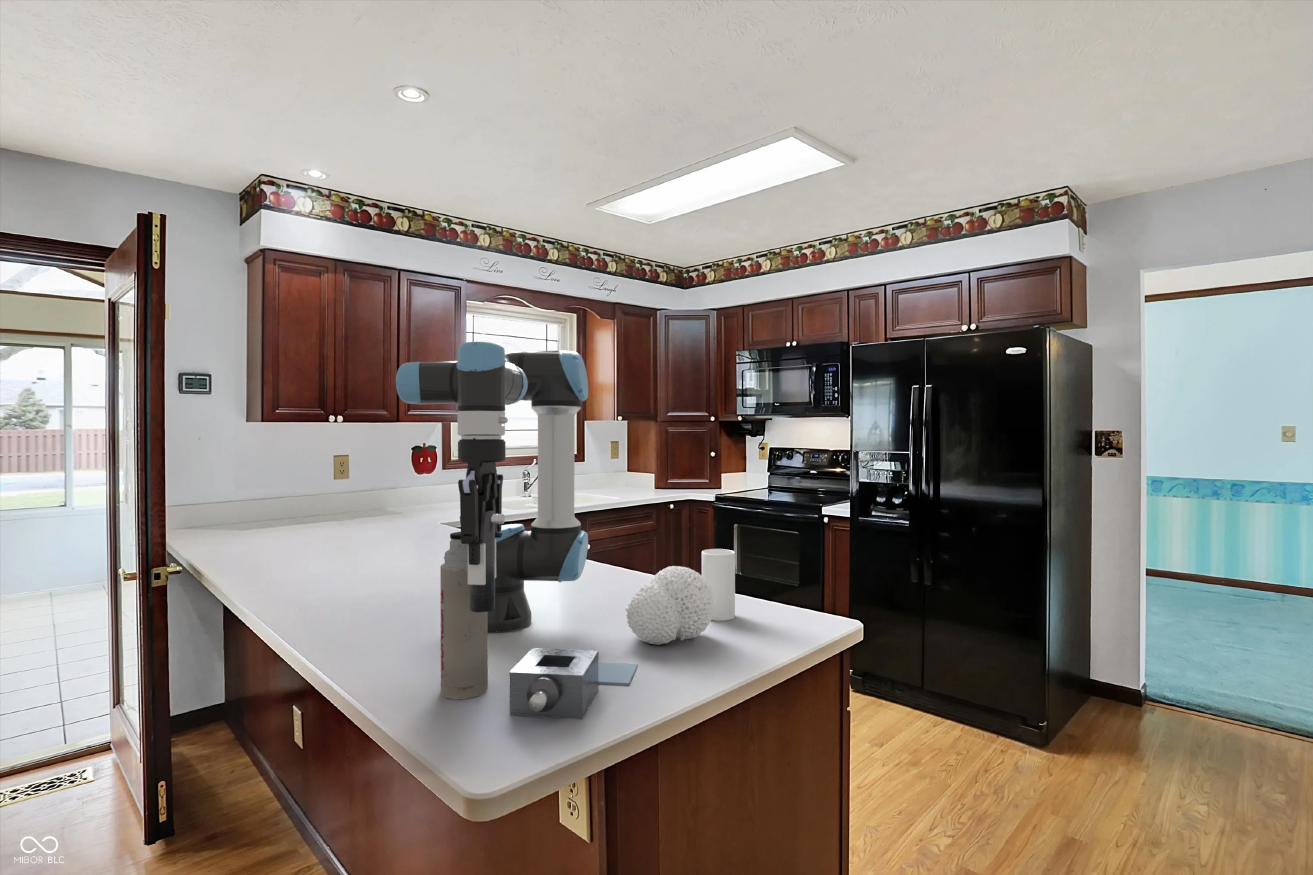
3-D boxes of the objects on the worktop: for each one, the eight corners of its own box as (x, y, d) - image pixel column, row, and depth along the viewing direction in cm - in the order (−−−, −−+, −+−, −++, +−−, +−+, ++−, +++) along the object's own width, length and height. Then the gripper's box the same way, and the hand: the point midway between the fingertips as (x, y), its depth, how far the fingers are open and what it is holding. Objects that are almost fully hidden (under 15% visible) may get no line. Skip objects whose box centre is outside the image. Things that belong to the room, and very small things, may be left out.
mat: (574, 682, 122) (574, 680, 122) (587, 663, 132) (587, 661, 132) (629, 685, 120) (629, 682, 120) (637, 665, 130) (637, 663, 130)
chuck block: (498, 728, 103) (498, 683, 103) (532, 686, 119) (532, 647, 119) (574, 733, 101) (574, 687, 101) (598, 690, 118) (598, 650, 118)
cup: (733, 621, 161) (733, 555, 161) (699, 619, 162) (699, 554, 162) (736, 612, 169) (736, 549, 169) (703, 610, 170) (703, 548, 170)
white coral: (683, 584, 162) (680, 539, 151) (733, 632, 151) (733, 587, 140) (616, 631, 153) (608, 587, 143) (664, 685, 142) (659, 641, 132)
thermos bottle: (435, 700, 114) (435, 536, 113) (446, 682, 122) (446, 529, 121) (483, 698, 114) (483, 535, 114) (491, 681, 122) (490, 528, 122)
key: (456, 611, 108) (456, 512, 107) (466, 604, 112) (466, 509, 111) (498, 612, 107) (498, 513, 107) (507, 606, 111) (507, 510, 110)
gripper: (483, 438, 100) (484, 594, 100) (521, 437, 117) (521, 570, 117) (436, 438, 101) (436, 592, 101) (480, 437, 118) (480, 569, 118)
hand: (482, 580), depth 109 cm, fingers closed on key, 4 cm apart
